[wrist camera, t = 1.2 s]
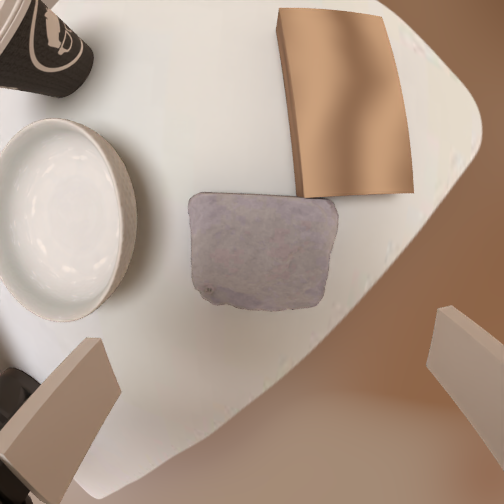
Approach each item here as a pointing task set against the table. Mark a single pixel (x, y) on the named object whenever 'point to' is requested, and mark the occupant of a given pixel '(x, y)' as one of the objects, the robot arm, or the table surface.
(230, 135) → the table surface
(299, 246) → the stone block
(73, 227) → the cereal bowl
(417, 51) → the table surface
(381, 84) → the walnut plinth
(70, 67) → the coffee cup
